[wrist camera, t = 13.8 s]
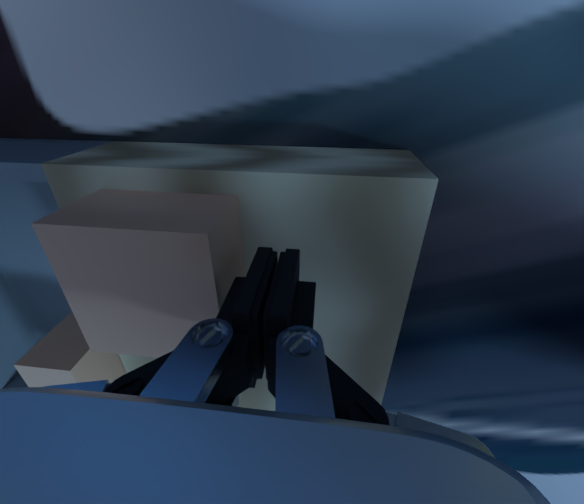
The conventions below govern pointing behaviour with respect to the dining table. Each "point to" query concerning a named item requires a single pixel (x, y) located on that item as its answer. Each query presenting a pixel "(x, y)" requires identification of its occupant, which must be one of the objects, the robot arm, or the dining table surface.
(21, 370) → the tile
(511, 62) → the dining table surface
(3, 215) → the tray
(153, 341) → the tile
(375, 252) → the pale green square panel
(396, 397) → the dining table surface
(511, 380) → the dining table surface
